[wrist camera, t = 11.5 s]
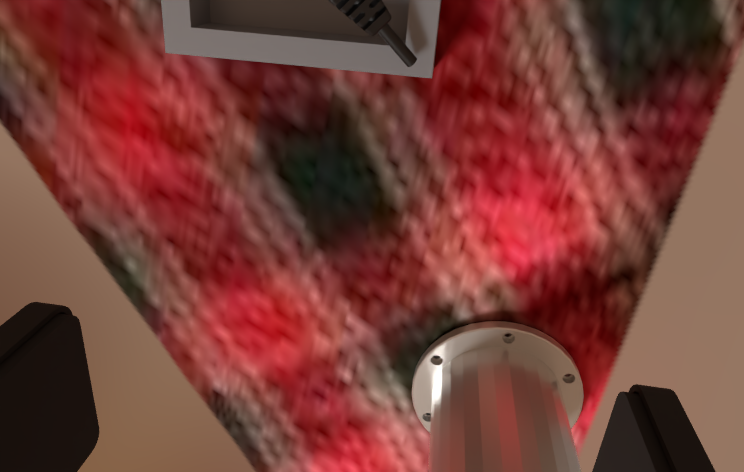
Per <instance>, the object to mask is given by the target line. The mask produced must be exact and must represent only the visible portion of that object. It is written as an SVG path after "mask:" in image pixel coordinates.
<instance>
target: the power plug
mask: <svg viewBox="0 0 744 472" xmlns="http://www.w3.org/2000/svg"><path fill="white" fill-rule="evenodd" d="M328 1H329V2H330V3H331V4H332V5H333V6H336V7H337V8H338V10H339V11H341V12H342V13H344V14H345V15H346V16H347V17H348V18H349V19H350V20H353V21H354V23H355V24H356V25H358V26H359V27H361V28H362V29H363V30H364V31H365V32H366V33H367V34H368V35H370V36H374V35H376V34H377V33H379V35H380V36H381V37H382V38H383V39H384V40H385V42H386V43H387V44H388V45H389V46H390V47H391V48H392V50H393V51H394V52H395V53H396V54H397V55H398V57H399V58H400V59H401V60H402V61H403V62H404V63H405V65H406V66H407V67H411V66H412V65H414V64H415V62H416V61H417V58H416V56H415V55H414V54H413V53H412V52H411V51H410V49H409V48H408V47H407V46H406V45H405V43H404V42H403V41H402V40H401V39H400V38H399V36H398V35H397V34H396V33H395V32H394V30H393V29H392V28H391V27H390V26H389V24H388V22H389V21H390V20H391V14H390V12H389V11H388V9H387V7H386V6H385V5H384V2H383V1H382V0H328Z"/></svg>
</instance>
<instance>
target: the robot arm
mask: <svg viewBox="0 0 744 472" xmlns="http://www.w3.org/2000/svg"><path fill="white" fill-rule="evenodd" d="M412 399H413V405H414V408H415V411H416V414H417V416H418V418H419V420H420V421H421V423H422V424H423V426H424V427H425V428H426V430H427V431H428V432H429V433H430V445H429V463H428V472H581V469H580V465H579V461H578V457H577V453H576V449H575V444H574V440H573V436H572V432H571V429H572V427H573V426H574V425H575V423H576V422H577V420H578V417H579V415H580V413H581V410H582V405H583V399H584V394H583V384H582V380H581V377H580V373H579V370H578V368H577V366H576V364H575V362H574V360H573V358H572V357H571V356H570V354H569V353H568V352H567V351H566V349H565V348H564V347H563V346H562V345H560V344H559V343H558V342H557V341H556V340H554V339H553V338H552V337H550V336H548V335H546V334H545V333H543V332H541V331H539V330H537V329H534V328H531V327H528V326H526V325H523V324H517V323H512V322H506V321H486V322H479V323H473V324H469V325H466V326H463V327H460V328H456V329H454V330H452V331H451V332H449V333H447V334H445V335H443V336H441V337H440V338H439V339H438V340H436V341H435V342H434V343H433V344H431V345H430V346H429V348H428V349H427V350H426V351H425V352H424V354H423V355H422V356H421V358H420V360H419V362H418V364H417V366H416V369H415V373H414V376H413V384H412ZM98 437H99V425H98V419H97V414H96V408H95V403H94V398H93V392H92V386H91V381H90V376H89V370H88V364H87V359H86V354H85V348H84V342H83V337H82V331H81V326H80V322H79V319H78V318H77V317H76V316H73V315H72V312H71V310H70V309H69V308H68V307H66V306H61V305H54V304H46V303H39V302H33V303H30V304H28V305H26V306H25V307H24V308H22V309H21V310H20V311H19V312H17V313H16V314H15V315H14V316H13V317H11V318H10V319H9V320H7V321H6V322H5V323H4V324H2V325H1V326H0V472H77V471H78V470H79V468H80V467H81V466H82V464H83V463H84V462H85V460H86V459H87V458H88V456H89V455H90V454H91V452H92V451H93V449H94V448H95V445H96V443H97V440H98ZM592 472H715V470H714V468H713V466H712V464H711V462H710V460H709V458H708V456H707V454H706V452H705V450H704V448H703V446H702V444H701V442H700V440H699V438H698V436H697V434H696V432H695V430H694V428H693V426H692V425H691V423H690V421H689V419H688V417H687V415H686V413H685V411H684V409H683V407H682V405H681V403H680V401H679V399H678V397H677V395H676V394H675V392H674V391H672V390H671V389H666V388H658V387H651V386H644V385H633V386H632V387H631V388H630V390H629V392H620V393H619V394H618V396H617V398H616V401H615V405H614V408H613V410H612V413H611V417H610V420H609V423H608V426H607V429H606V432H605V435H604V438H603V441H602V444H601V447H600V450H599V453H598V457H597V459H596V462H595V465H594V468H593V471H592Z"/></svg>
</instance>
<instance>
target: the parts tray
mask: <svg viewBox="0 0 744 472" xmlns="http://www.w3.org/2000/svg"><path fill="white" fill-rule="evenodd" d="M382 1H383V2H384V5H385V6H386V7H387V9H388V11H389V12H390V14H391V20H390V21H389V22H388V24H389V26H390V27H391V28H392V29H393V30H394V32H395V33H396V34H397V35H398V36H399V38H400V39H401V40H402V41H403V42H404V43H405V45H406V46H407V47H408V48H409V49H410V51H411V52H412V53H413V54H414V55H415V56H416V58H417V61H416V62H415V64H414V65H412V66H411V67H407V66H406V65H405V63H404V62H403V61H402V60H401V59H400V58H399V57H398V55H397V54H396V53H395V52H394V51H393V50H392V48H391V47H390V46H389V45H388V44H387V43H386V42H385V40H384V39H383V38H382V37H381V36H380V35H379V33H377V34H376V35H374V36H370V35H368V34H367V33H366V32H365V31H364V30H363V29H362V28H361V27H359V26H358V25H356V24H355V23H354V21H353V20H350V19H349V18H348V17H347V16H346V15H345V14H344V13H342V12H341V11H339V10H338V8H337V7H336V6H333V5H332V4H331V3H330V2H329V1H328V0H161V4H162V16H163V28H164V40H165V52H166V53H173V54H183V55H194V56H204V57H215V58H225V59H236V60H246V61H256V62H267V63H277V64H288V65H298V66H309V67H319V68H330V69H340V70H351V71H361V72H372V73H382V74H393V75H403V76H413V77H424V78H432V75H433V70H434V62H435V54H436V45H437V36H438V27H439V18H440V10H441V1H442V0H382Z"/></svg>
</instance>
